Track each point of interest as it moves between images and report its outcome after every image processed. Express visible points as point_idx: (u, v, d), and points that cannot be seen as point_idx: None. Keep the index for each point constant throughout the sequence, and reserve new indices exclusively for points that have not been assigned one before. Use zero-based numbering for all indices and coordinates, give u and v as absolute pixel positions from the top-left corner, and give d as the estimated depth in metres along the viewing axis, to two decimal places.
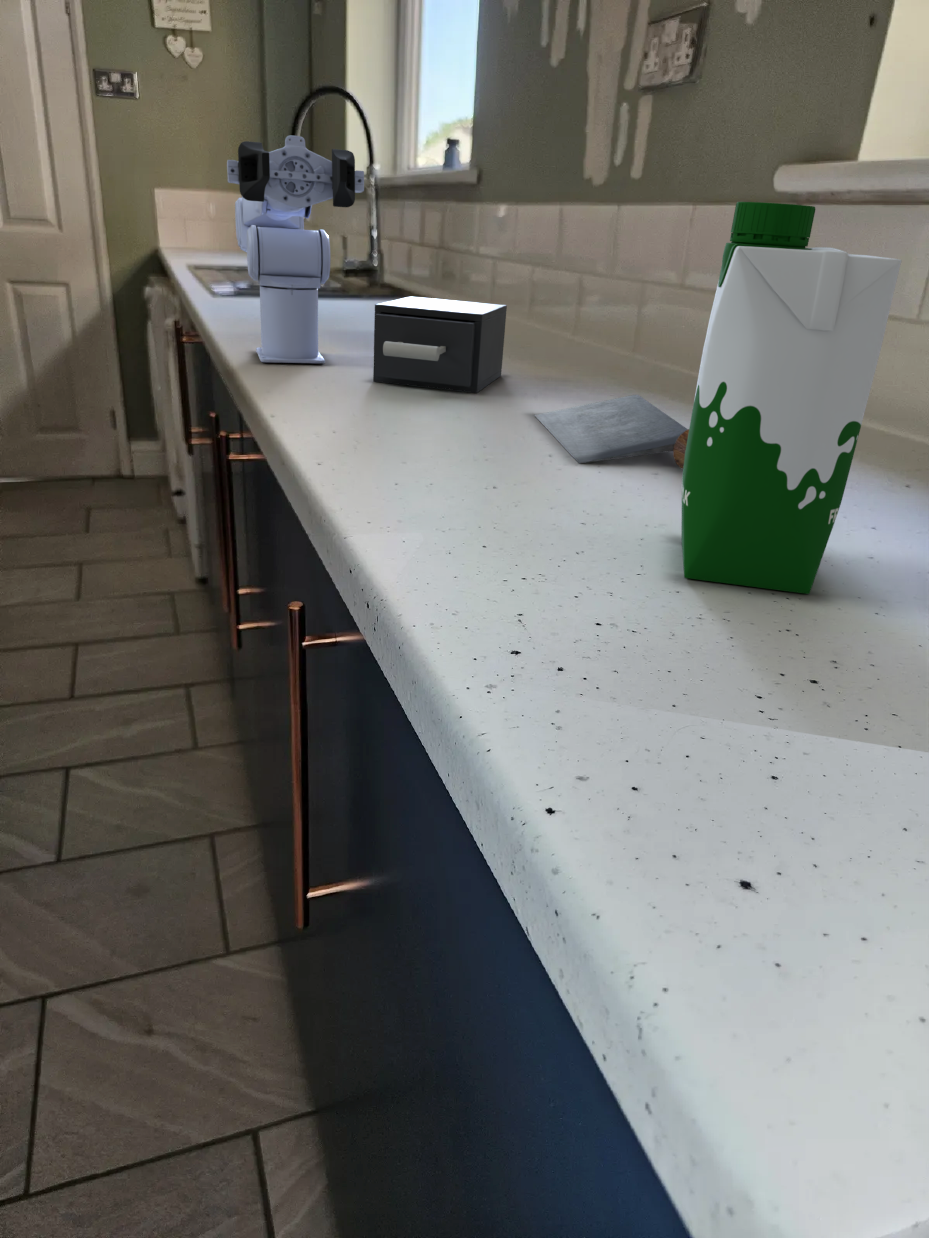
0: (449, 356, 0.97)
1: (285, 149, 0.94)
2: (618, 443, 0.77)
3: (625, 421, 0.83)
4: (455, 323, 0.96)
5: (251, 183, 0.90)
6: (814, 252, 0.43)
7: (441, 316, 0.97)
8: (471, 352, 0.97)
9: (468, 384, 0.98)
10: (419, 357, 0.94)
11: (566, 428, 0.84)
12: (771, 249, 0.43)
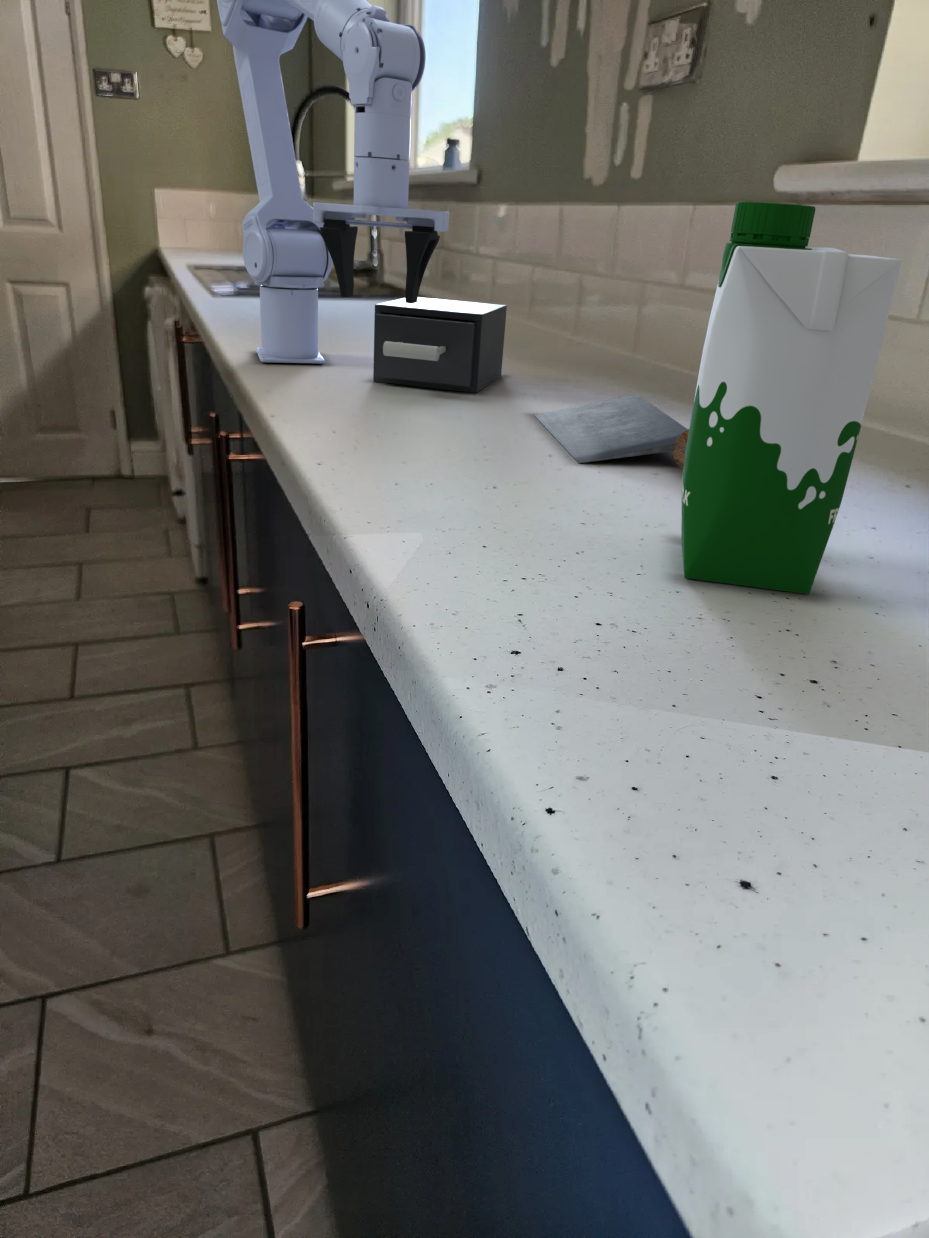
0: (449, 356, 0.97)
1: (362, 214, 0.90)
2: (618, 443, 0.77)
3: (625, 421, 0.83)
4: (455, 323, 0.96)
5: None
6: (814, 252, 0.43)
7: (441, 316, 0.97)
8: (471, 352, 0.97)
9: (468, 384, 0.98)
10: (419, 357, 0.94)
11: (566, 428, 0.84)
12: (771, 249, 0.43)
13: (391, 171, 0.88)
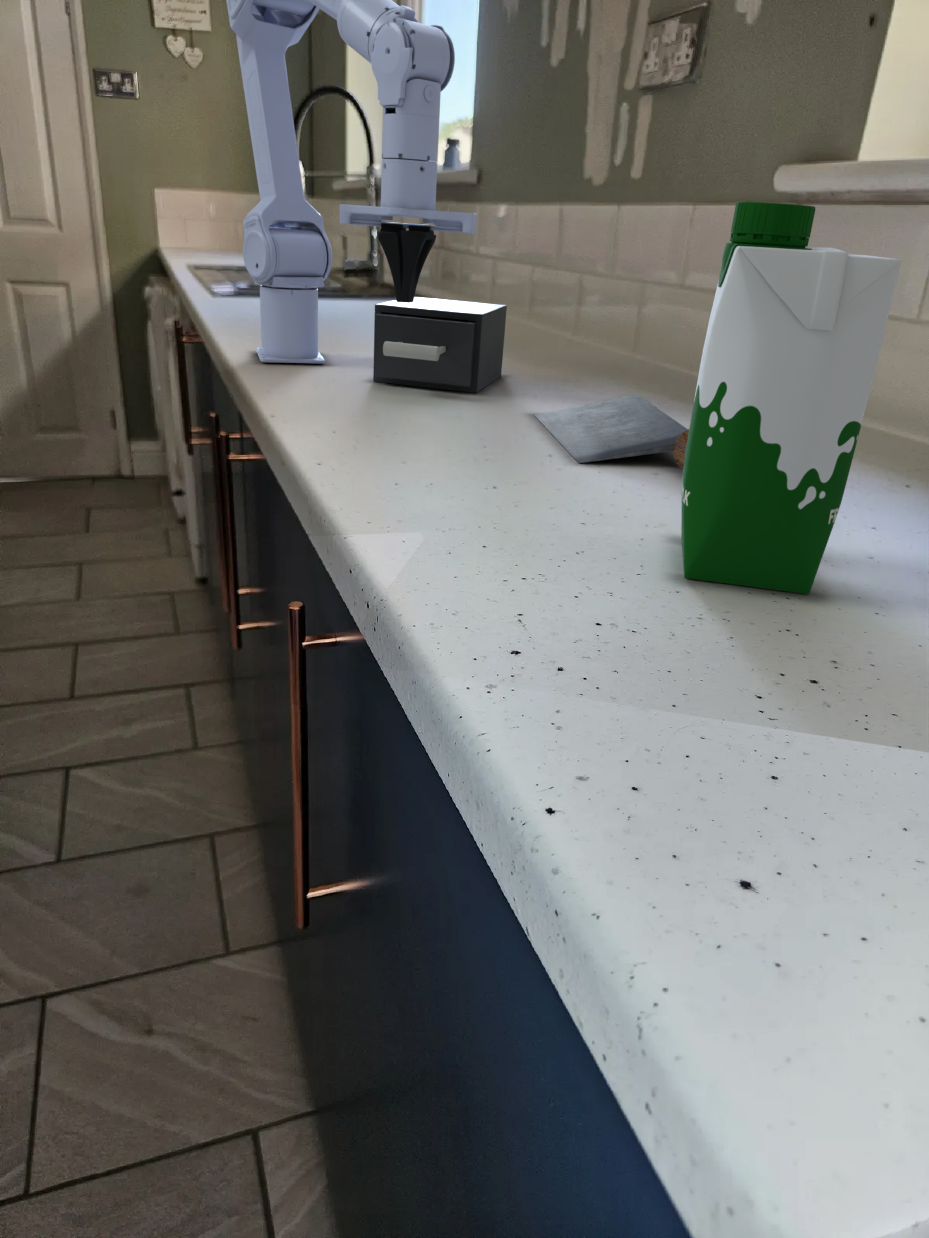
0: (449, 356, 0.97)
1: (389, 215, 0.89)
2: (618, 443, 0.77)
3: (625, 421, 0.83)
4: (455, 323, 0.96)
5: None
6: (814, 252, 0.43)
7: (441, 316, 0.97)
8: (471, 352, 0.97)
9: (468, 384, 0.98)
10: (419, 357, 0.94)
11: (566, 428, 0.84)
12: (771, 249, 0.43)
13: (419, 173, 0.87)
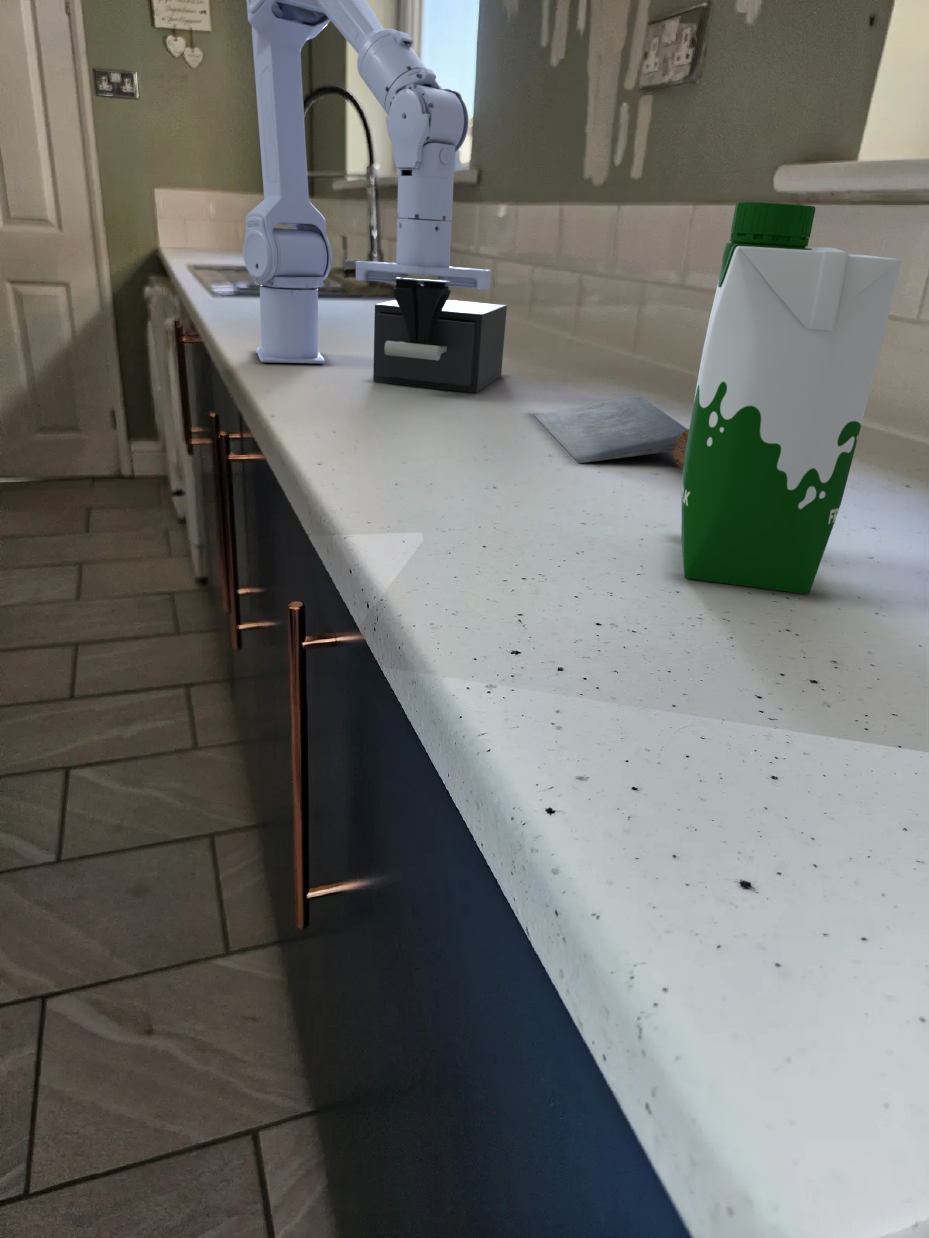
0: (450, 356, 0.98)
1: None
2: (618, 443, 0.77)
3: (625, 421, 0.83)
4: (456, 323, 0.96)
5: None
6: (814, 252, 0.43)
7: (441, 316, 0.97)
8: (472, 351, 0.97)
9: (469, 383, 0.98)
10: (420, 356, 0.94)
11: (566, 429, 0.84)
12: (771, 249, 0.43)
13: (434, 232, 0.89)
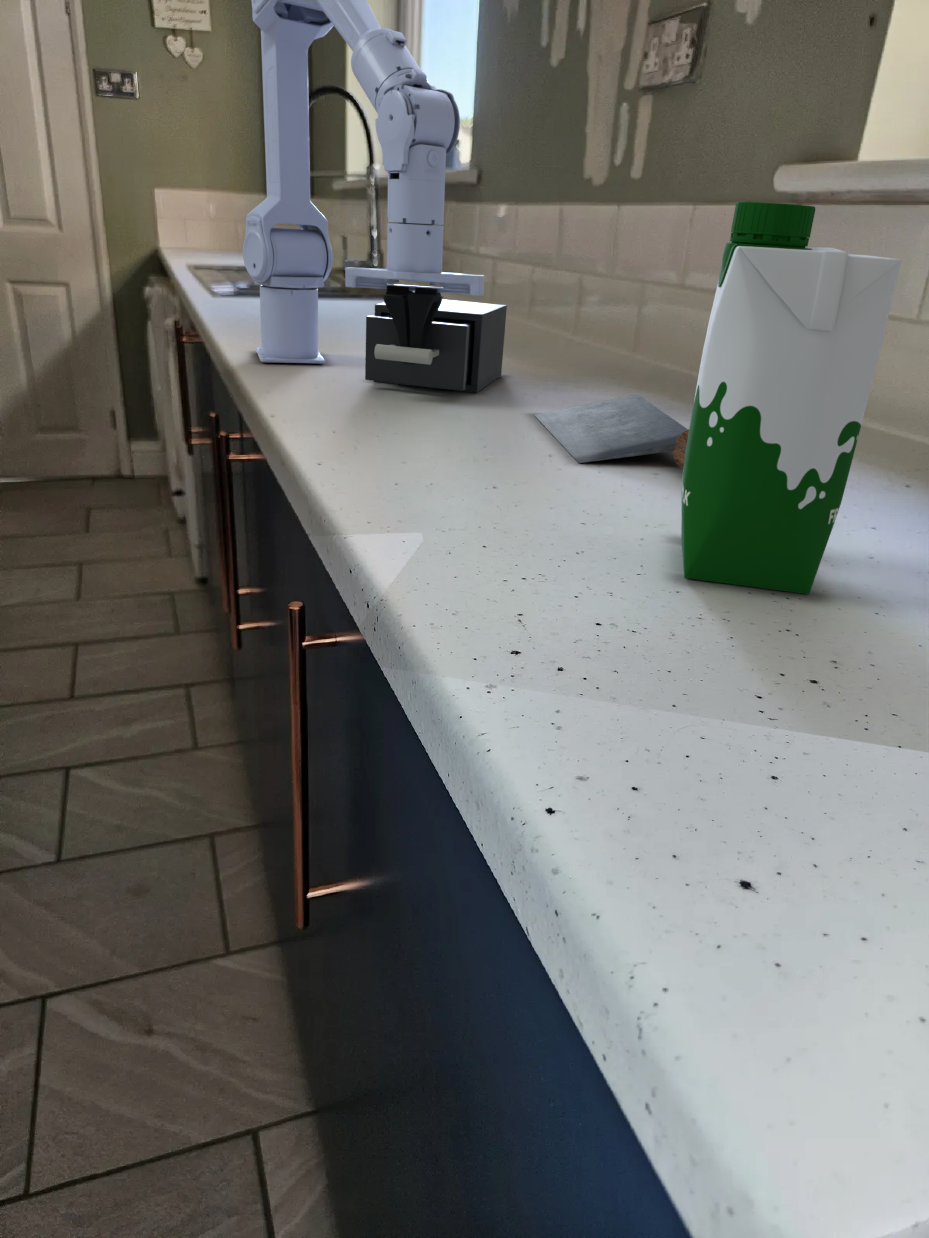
0: (443, 359, 0.95)
1: None
2: (618, 443, 0.77)
3: (625, 421, 0.83)
4: (449, 325, 0.93)
5: None
6: (814, 252, 0.43)
7: (441, 316, 0.97)
8: (465, 355, 0.94)
9: (462, 388, 0.96)
10: (411, 360, 0.91)
11: (566, 428, 0.84)
12: (771, 249, 0.43)
13: (426, 237, 0.86)
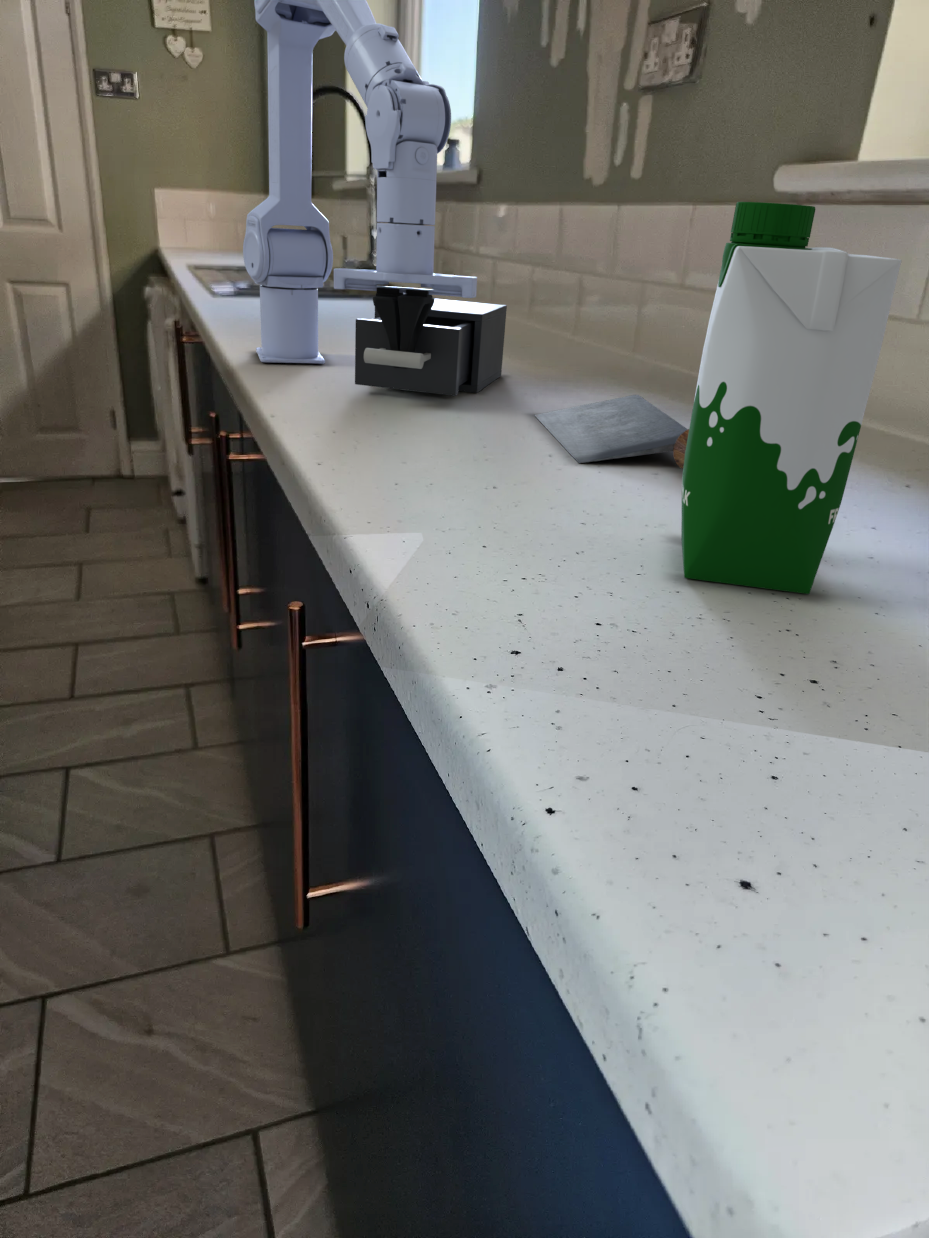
0: (435, 363, 0.92)
1: None
2: (618, 443, 0.77)
3: (625, 421, 0.83)
4: (440, 328, 0.90)
5: None
6: (814, 252, 0.43)
7: (441, 316, 0.97)
8: (458, 359, 0.91)
9: (455, 393, 0.93)
10: (402, 365, 0.88)
11: (566, 428, 0.84)
12: (771, 249, 0.43)
13: (416, 237, 0.84)
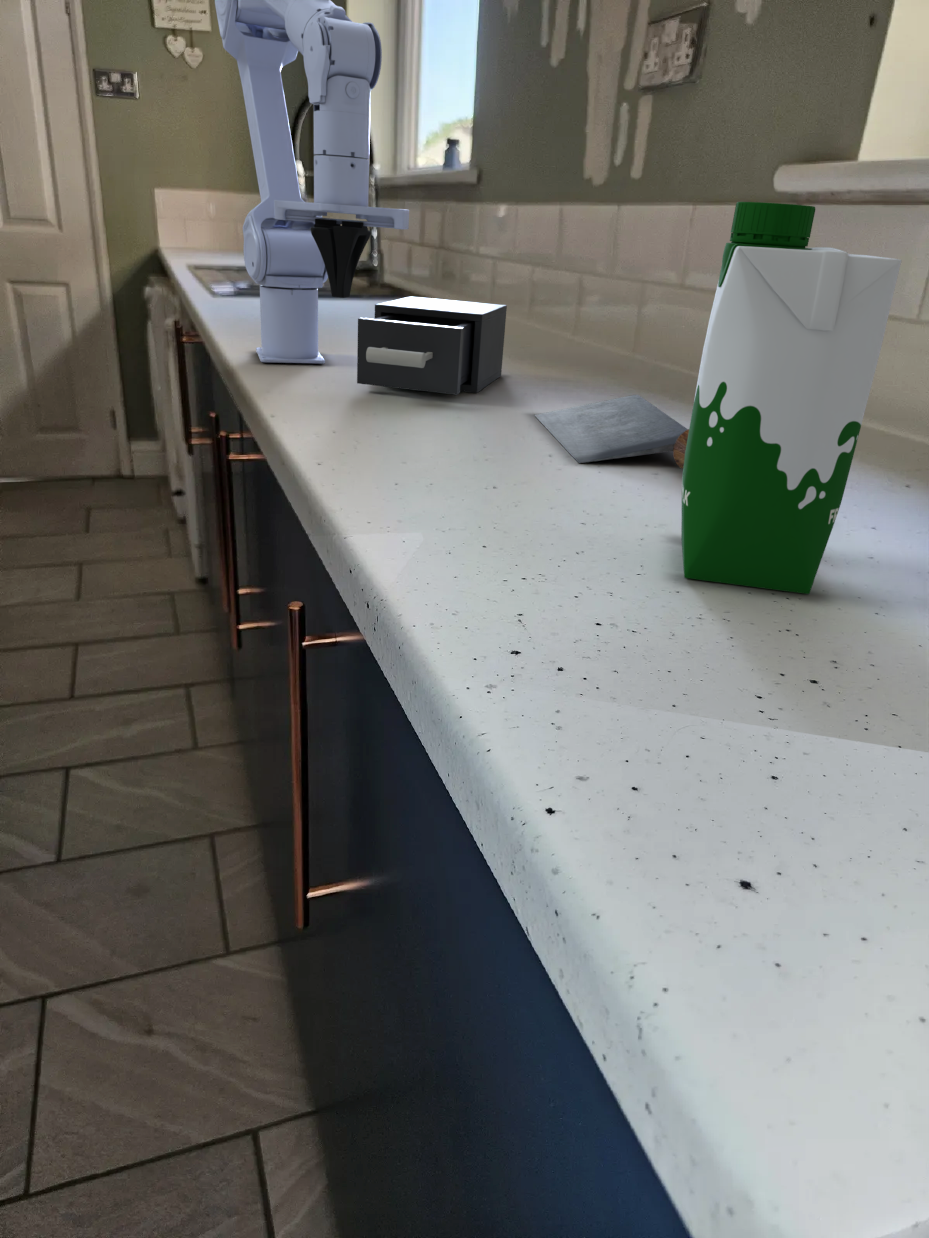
0: (436, 363, 0.93)
1: (322, 211, 0.90)
2: (618, 443, 0.77)
3: (625, 421, 0.83)
4: (442, 328, 0.91)
5: None
6: (814, 252, 0.43)
7: (441, 316, 0.97)
8: (459, 358, 0.92)
9: (456, 392, 0.93)
10: (404, 364, 0.89)
11: (566, 428, 0.84)
12: (771, 249, 0.43)
13: (350, 169, 0.88)
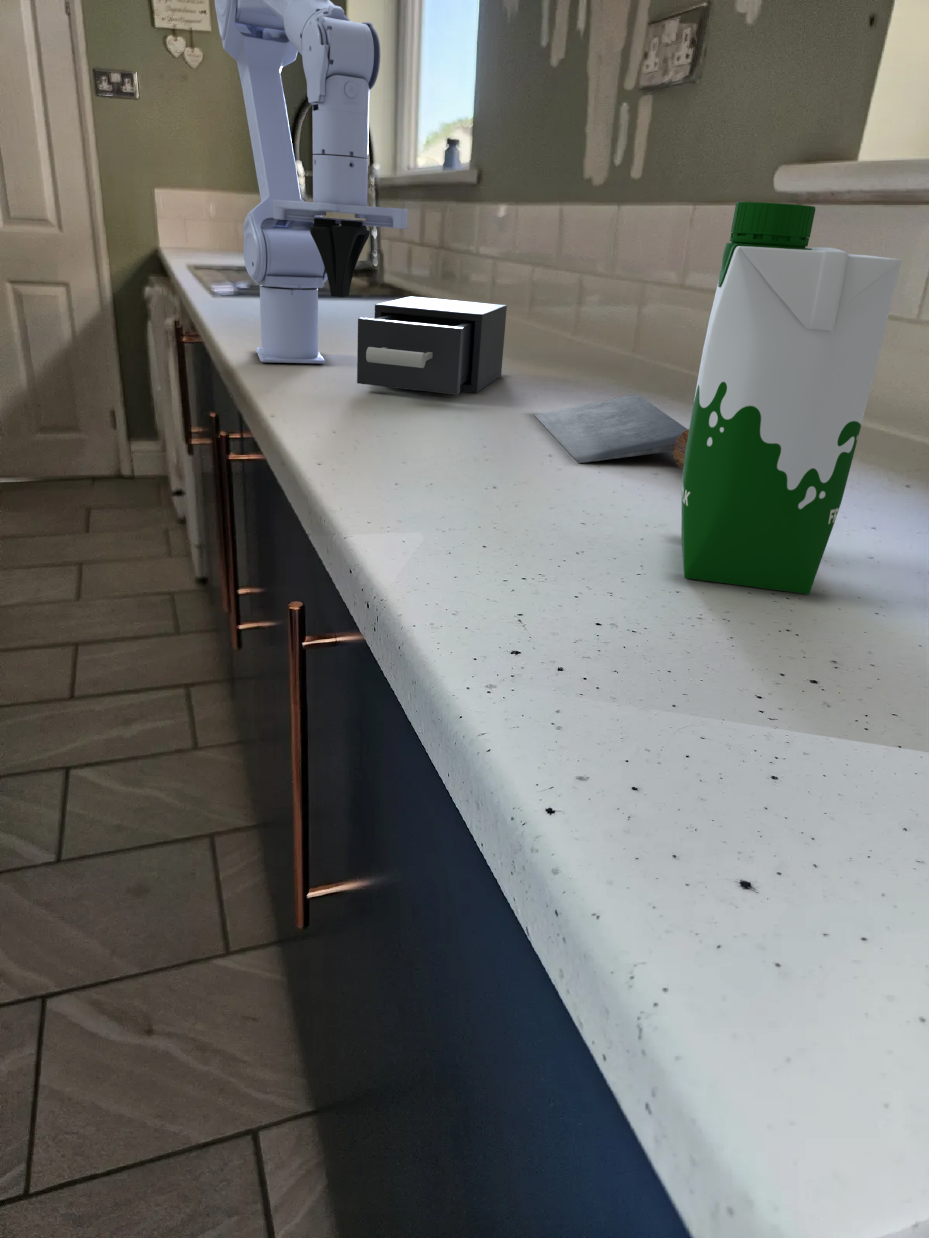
0: (436, 363, 0.93)
1: (321, 211, 0.90)
2: (618, 443, 0.77)
3: (625, 421, 0.83)
4: (442, 328, 0.91)
5: None
6: (814, 252, 0.43)
7: (441, 316, 0.97)
8: (459, 358, 0.92)
9: (456, 392, 0.93)
10: (404, 364, 0.89)
11: (566, 428, 0.84)
12: (771, 249, 0.43)
13: (349, 168, 0.89)
